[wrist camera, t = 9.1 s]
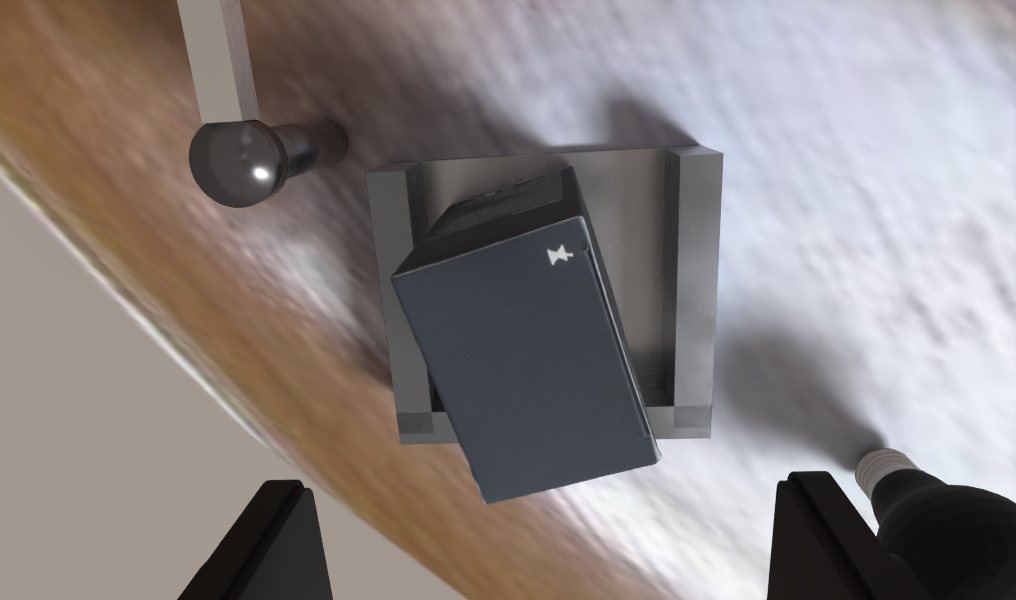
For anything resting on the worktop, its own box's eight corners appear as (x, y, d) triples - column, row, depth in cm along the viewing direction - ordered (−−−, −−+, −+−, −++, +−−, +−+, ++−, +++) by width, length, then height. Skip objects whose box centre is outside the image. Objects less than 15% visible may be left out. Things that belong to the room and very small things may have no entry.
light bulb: (791, 499, 31) (900, 683, 21) (834, 393, 29) (974, 543, 19) (909, 523, 31) (1070, 717, 21) (959, 418, 29) (1162, 580, 19)
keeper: (303, 121, 26) (220, 131, 20) (702, 96, 25) (757, 98, 18) (348, 407, 31) (292, 495, 24) (692, 398, 29) (733, 489, 23)
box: (445, 205, 27) (382, 275, 17) (573, 162, 26) (588, 208, 16) (505, 367, 29) (482, 514, 19) (625, 332, 28) (668, 467, 18)
